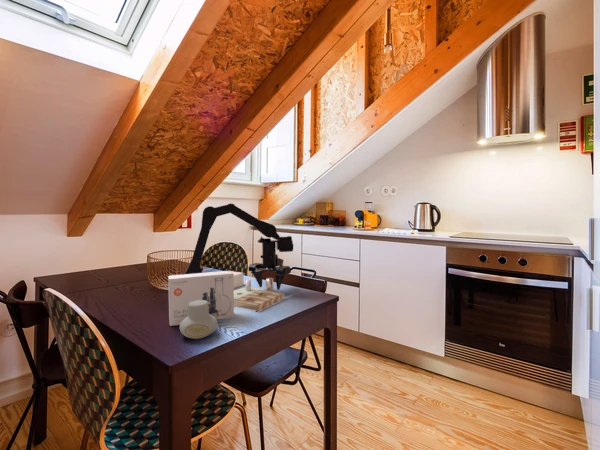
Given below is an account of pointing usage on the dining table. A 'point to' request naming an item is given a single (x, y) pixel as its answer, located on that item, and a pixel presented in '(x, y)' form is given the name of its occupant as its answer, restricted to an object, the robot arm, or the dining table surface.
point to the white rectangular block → (238, 279)
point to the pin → (269, 284)
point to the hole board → (259, 300)
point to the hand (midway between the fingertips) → (269, 288)
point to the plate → (245, 290)
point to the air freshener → (198, 321)
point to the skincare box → (201, 294)
